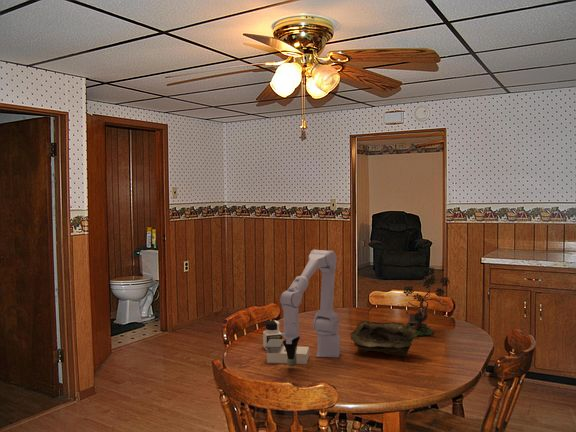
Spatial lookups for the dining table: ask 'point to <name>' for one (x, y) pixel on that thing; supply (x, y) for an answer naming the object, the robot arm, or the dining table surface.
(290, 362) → the dowel
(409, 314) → the bonsai tree
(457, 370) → the dining table surface
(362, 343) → the dark green planter
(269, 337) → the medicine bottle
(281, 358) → the socket board
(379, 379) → the dining table surface
